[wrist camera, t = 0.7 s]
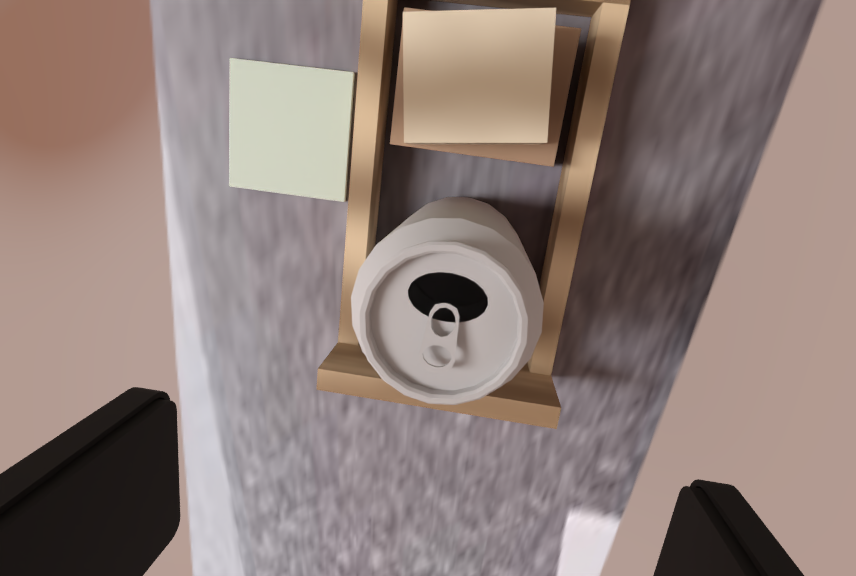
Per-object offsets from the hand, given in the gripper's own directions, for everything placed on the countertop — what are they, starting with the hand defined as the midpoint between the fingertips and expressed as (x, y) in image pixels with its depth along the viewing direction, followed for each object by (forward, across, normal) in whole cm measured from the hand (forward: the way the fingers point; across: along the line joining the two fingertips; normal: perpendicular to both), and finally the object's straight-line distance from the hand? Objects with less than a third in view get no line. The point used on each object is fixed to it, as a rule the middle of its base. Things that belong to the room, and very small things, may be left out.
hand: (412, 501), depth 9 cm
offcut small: (+17, 0, -9) cm, 19 cm away
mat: (+20, +11, -6) cm, 24 cm away
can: (+21, 0, 0) cm, 21 cm away
